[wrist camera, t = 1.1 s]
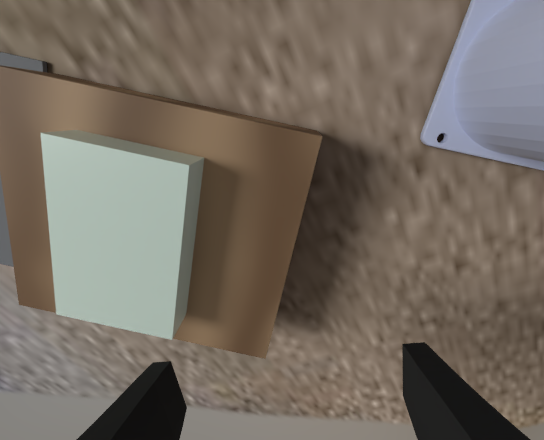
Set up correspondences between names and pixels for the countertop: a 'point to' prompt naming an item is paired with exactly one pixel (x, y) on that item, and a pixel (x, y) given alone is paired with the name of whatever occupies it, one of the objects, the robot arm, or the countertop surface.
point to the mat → (3, 253)
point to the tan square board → (212, 204)
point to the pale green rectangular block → (121, 230)
